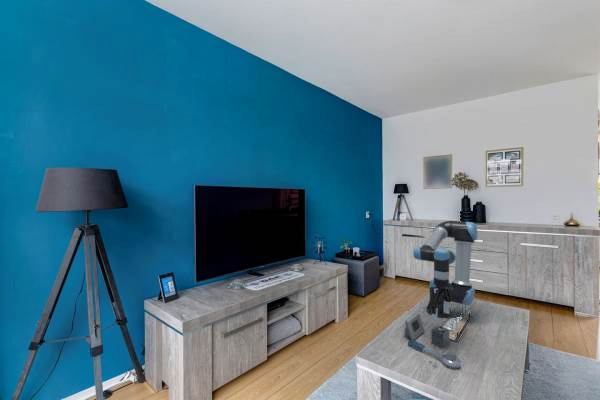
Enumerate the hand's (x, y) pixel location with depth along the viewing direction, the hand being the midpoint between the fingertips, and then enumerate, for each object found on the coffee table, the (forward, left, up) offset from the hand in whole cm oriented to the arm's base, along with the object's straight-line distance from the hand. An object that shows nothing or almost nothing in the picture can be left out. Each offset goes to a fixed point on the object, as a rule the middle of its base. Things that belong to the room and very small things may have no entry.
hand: (440, 316), depth 153 cm
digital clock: (+2, -14, -16) cm, 21 cm away
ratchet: (+14, +3, -16) cm, 21 cm away
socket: (0, 0, -16) cm, 16 cm away
